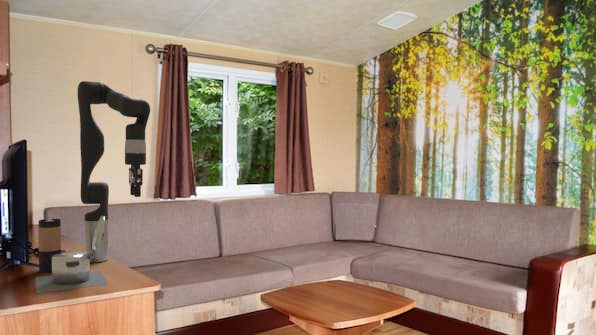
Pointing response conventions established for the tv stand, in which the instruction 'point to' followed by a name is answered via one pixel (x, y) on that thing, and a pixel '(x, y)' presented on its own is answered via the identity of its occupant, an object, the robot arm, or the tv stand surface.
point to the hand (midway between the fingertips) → (135, 195)
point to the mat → (46, 285)
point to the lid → (98, 235)
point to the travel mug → (48, 243)
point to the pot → (71, 268)
